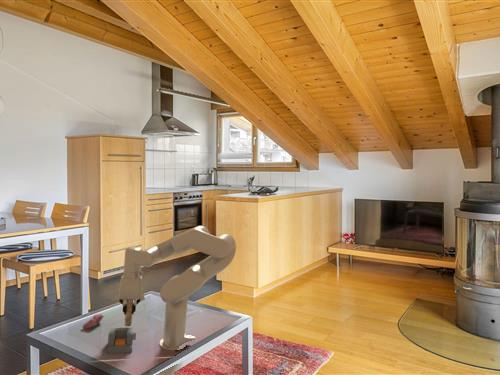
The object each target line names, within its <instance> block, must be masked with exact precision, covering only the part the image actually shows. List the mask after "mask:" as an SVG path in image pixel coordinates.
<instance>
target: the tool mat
mask: <svg viewBox="0 0 500 375" xmlns="http://www.w3.org/2000/svg"><path fill="white" fill-rule="evenodd" d="M136 337H137V333H136V332H133V341H135V340H137V338H136Z"/></svg>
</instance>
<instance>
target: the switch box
mask: <svg viewBox="0 0 500 375" xmlns="http://www.w3.org/2000/svg"><path fill="white" fill-rule="evenodd" d="M133 333H134V326H133V327H110V328H109V330H108V335H107V336H108V339H107V350H106V354H118V353H120V354H121V353H133V341H134V340H133ZM122 338H126V342H125V345H120V346H115V340H116V339H122Z"/></svg>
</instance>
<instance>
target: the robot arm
mask: <svg viewBox="0 0 500 375" xmlns="http://www.w3.org/2000/svg"><path fill="white" fill-rule="evenodd" d="M192 250H195V251H197V252H200V253H203V254H205V255H207V257H205V259H202V260H201V261H199V262H198V263H195V264H193V265H191V266H190V267H189V268H187V269H186V270H185V271H183V272H182V273H180V274H176V275H174V276H172V277H171V278H169V280H168V281H166V282H165V283H164V284H163V285H162V287H161V288H160V291H159V292H160V293H159V294H160V299H161V301H162V302H163V303H165V310H164V311H165V312H164V326H163V336H162V339H160V340H159V344H158V345H159V346H160V347H161V348H162V349H164V350H167V351H175V350H177V349H179V346H181V345H182V344H184V343H186V342H193V341H192V340H194V339H195V340H196V337H195V336H192V335H191V334H189V335H187V334H186V328H187V313H188V312H187V311H188V302H189V296H191V295H192V294H194V293H195V292H197V291H198V290H200V289H201V288H202V287H203V286H204V284H205V283H206V282H207V281H209V280H210V279H212V278H213V277H215V276H217V275H218V274H220V273H221V272H222V271H224V270H225V269H226V268H227V267H229V266H230V264H231V263H232V261H233V260H234V258H235V256H236V250H237V243H236V239H235V238H234V236H232V235H231V234H227V233H225V234H224V233H223V234H221V235H219V236H215V235H213V234H211V233H210V231H209V229H208V227H206V226H204V225H197V226H194V227H192V228H191V229H188V230H186V231H183V232H181V233H178V234H177V235H174V236H172V237H170V238H169V239H166V240H164V241H163V242H160V243H158V244H156V245H153V246H151V247H149V248H147V249H143V248H142V247H140V246H135V245H134V246H128V247H126V248H125V252H124V260H123V261H124V264H123V275H121V276H120V282H119V286H118V287H119V289H118V293H117V295H116V296H115V298H114V300H116V301H117V302H119V304H121V305H122V313H123V315H125V314H126V301H127V299H133V309H132V315H134V313H136V310H137V309H136V307H137V305H138V304H139V303H140V302H143V301H145V295H144V293H143V276H144V275H145V271H142V267H143V268H149V267H152V266H154V265H155V264H156V263H159V262H161V261H162V260H165V259H168V258H170V257H172V256H175V255H178V256H180V255H182V254H185V253H187V252H189V251H192ZM208 255H209V256H208ZM142 275H143V276H142Z"/></svg>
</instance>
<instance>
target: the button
mask: <svg viewBox="0 0 500 375" xmlns="http://www.w3.org/2000/svg"><path fill="white" fill-rule="evenodd" d="M125 342H126V338H122V339H116V340H115V345H114V346H120V345H126V344H125Z"/></svg>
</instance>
